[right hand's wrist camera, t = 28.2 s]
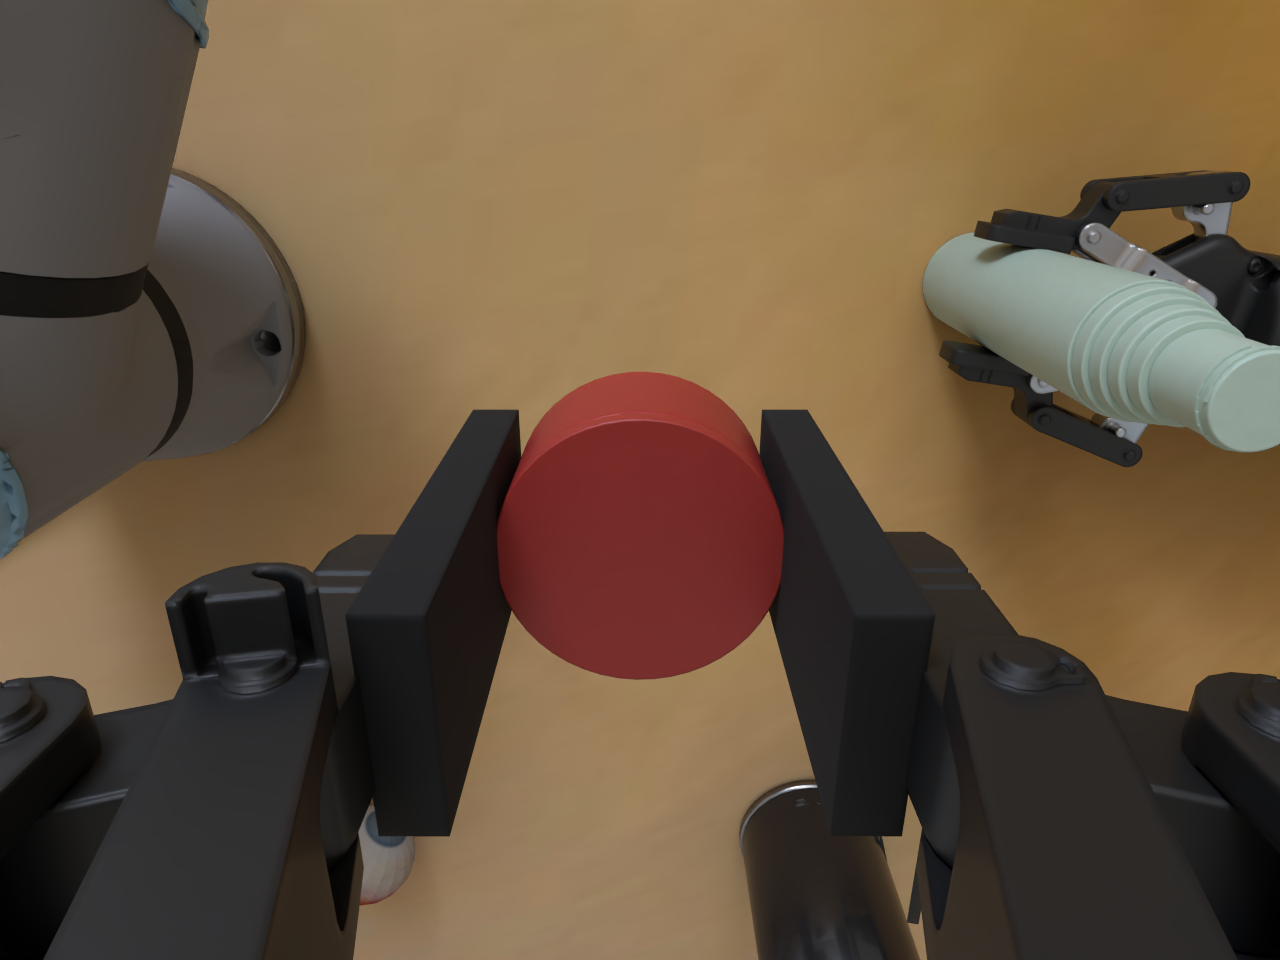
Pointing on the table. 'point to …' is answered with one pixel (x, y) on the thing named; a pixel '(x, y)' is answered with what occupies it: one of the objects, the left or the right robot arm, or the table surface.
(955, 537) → the table surface
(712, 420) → the cap
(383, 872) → the eyeball
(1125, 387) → the bottle
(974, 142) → the table surface
